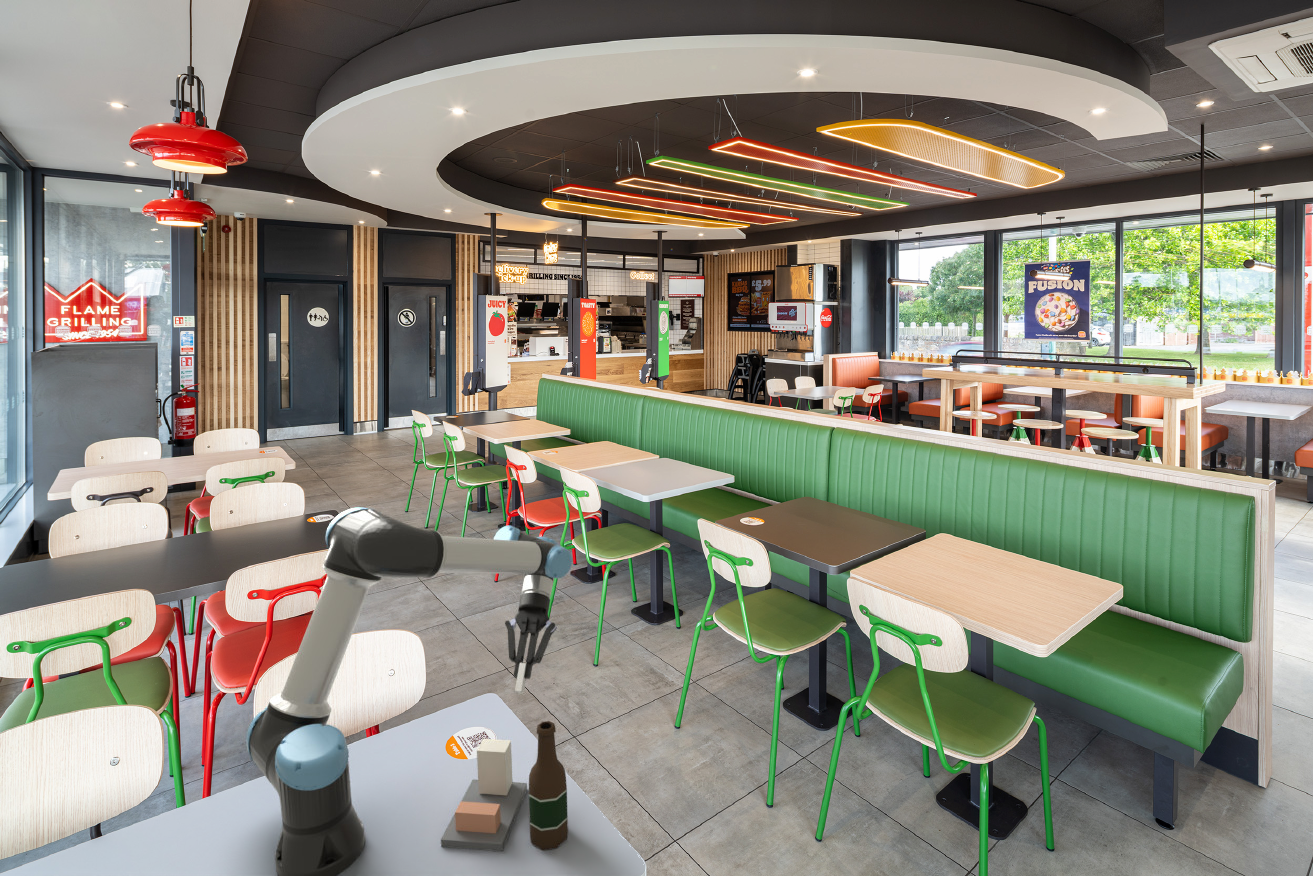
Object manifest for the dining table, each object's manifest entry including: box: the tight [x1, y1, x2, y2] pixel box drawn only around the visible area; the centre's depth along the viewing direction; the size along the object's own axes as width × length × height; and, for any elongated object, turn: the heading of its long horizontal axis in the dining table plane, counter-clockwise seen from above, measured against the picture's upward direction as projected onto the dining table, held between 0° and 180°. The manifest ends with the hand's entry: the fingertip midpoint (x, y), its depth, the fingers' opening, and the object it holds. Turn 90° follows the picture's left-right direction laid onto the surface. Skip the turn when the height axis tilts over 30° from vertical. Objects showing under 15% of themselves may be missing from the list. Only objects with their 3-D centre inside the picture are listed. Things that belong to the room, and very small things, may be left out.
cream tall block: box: [476, 738, 514, 795], centre depth 140 cm, size 6×4×10 cm, turn 85°
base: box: [440, 779, 528, 852], centre depth 135 cm, size 12×17×2 cm
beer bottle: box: [528, 720, 569, 851], centre depth 128 cm, size 8×8×24 cm
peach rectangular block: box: [454, 800, 501, 833], centre depth 131 cm, size 8×3×4 cm, turn 85°
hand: (519, 692), depth 156 cm, fingers closed
